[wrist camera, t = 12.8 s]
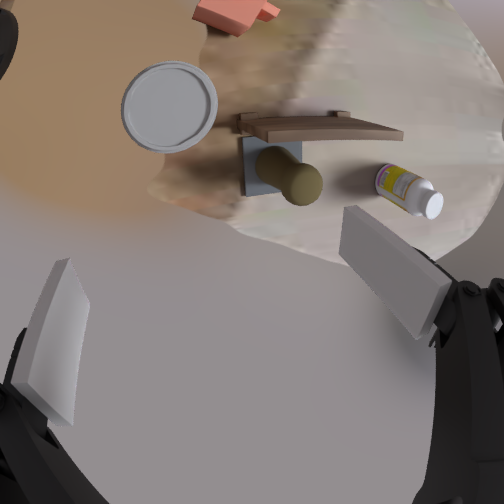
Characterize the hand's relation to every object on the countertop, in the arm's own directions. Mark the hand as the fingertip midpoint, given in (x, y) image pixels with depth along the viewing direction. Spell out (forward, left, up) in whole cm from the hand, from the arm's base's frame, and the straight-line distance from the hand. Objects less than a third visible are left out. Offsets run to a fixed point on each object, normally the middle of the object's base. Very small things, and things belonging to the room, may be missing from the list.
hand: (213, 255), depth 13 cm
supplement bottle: (+9, +36, -29) cm, 47 cm away
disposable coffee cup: (-6, -1, -29) cm, 30 cm away
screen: (-2, +17, -29) cm, 33 cm away
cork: (+5, +13, -28) cm, 32 cm away
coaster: (+4, +13, -29) cm, 32 cm away
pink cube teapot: (-20, +7, -29) cm, 36 cm away
